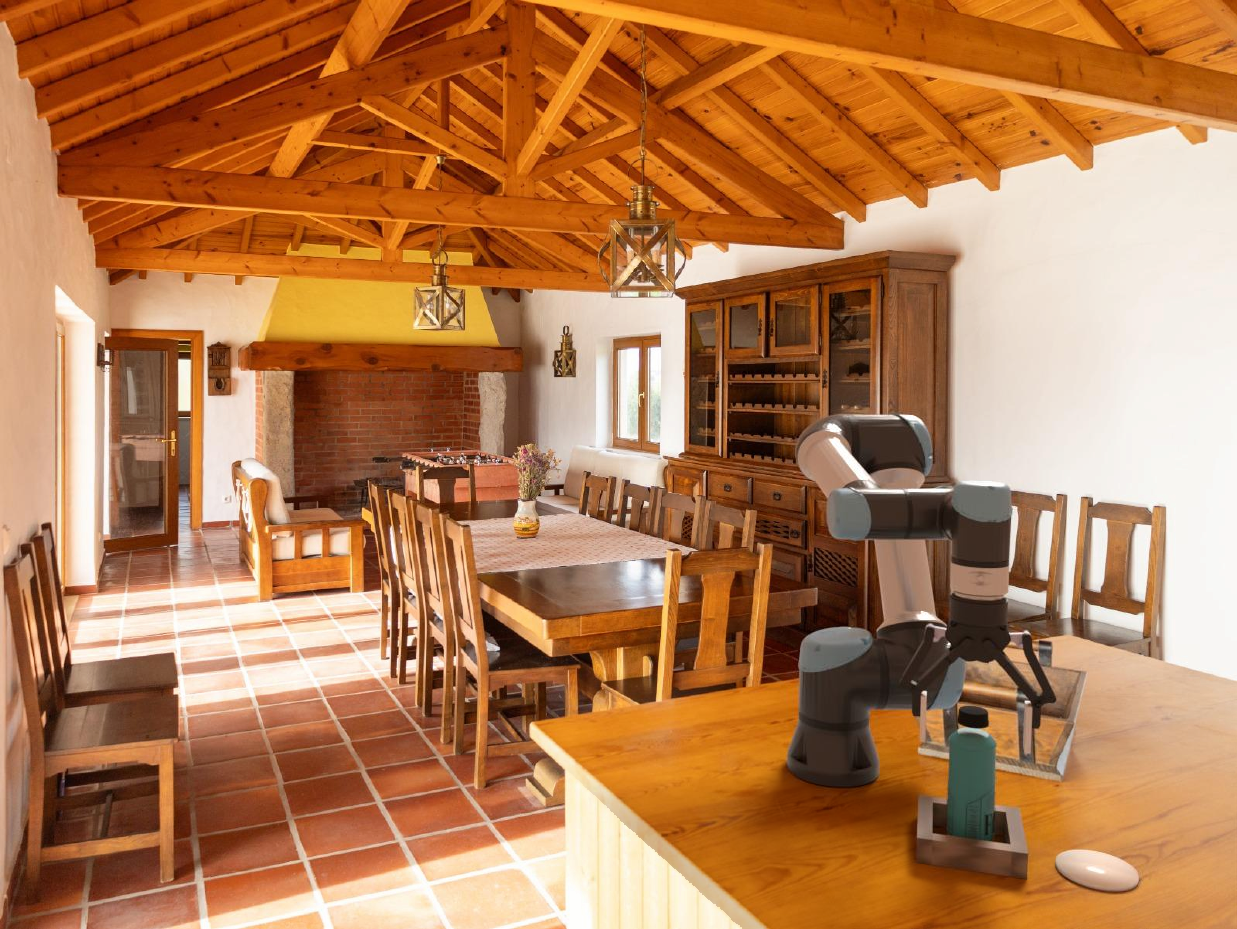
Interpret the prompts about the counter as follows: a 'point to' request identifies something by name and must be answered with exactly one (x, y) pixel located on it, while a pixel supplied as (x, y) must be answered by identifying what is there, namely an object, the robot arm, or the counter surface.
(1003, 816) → the holder
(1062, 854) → the coaster
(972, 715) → the beverage bottle
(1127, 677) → the counter surface
